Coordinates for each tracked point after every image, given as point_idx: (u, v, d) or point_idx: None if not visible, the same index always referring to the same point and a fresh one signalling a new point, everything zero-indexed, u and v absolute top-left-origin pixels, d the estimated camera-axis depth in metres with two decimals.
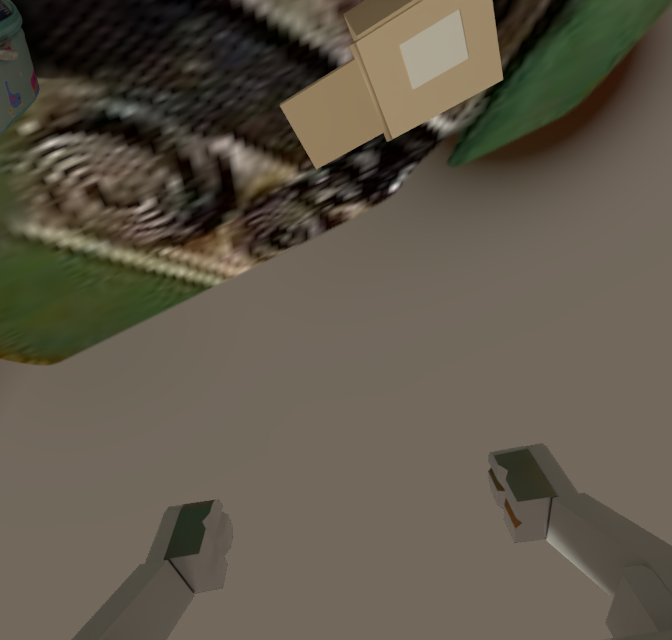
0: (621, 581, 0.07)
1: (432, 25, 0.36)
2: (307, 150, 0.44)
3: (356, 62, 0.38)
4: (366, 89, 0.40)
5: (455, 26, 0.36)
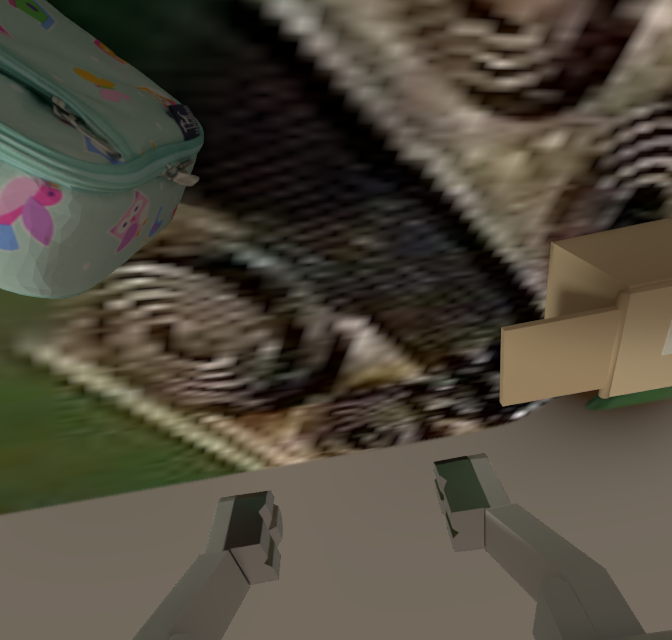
0: (539, 593, 0.07)
1: None
2: (505, 384, 0.32)
3: (619, 312, 0.29)
4: (612, 341, 0.31)
5: None
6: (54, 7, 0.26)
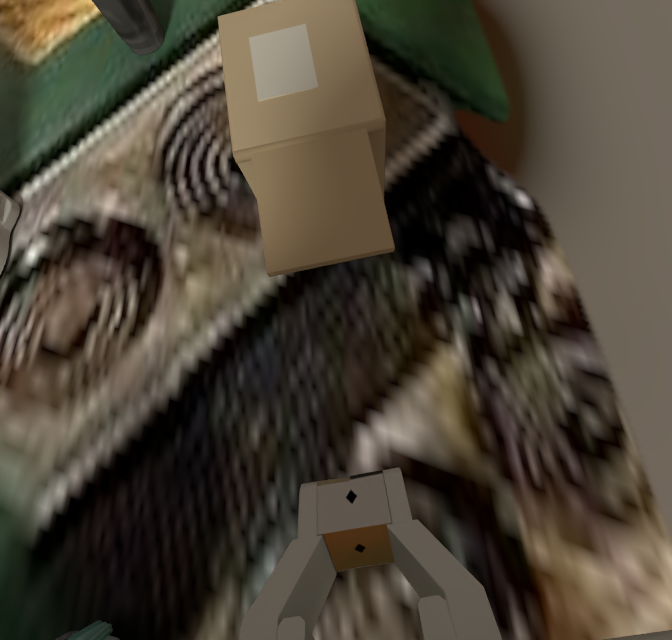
0: (419, 611, 0.08)
1: (253, 64, 0.28)
2: (354, 252, 0.23)
3: (255, 153, 0.26)
4: (294, 145, 0.25)
5: (265, 40, 0.28)
6: None
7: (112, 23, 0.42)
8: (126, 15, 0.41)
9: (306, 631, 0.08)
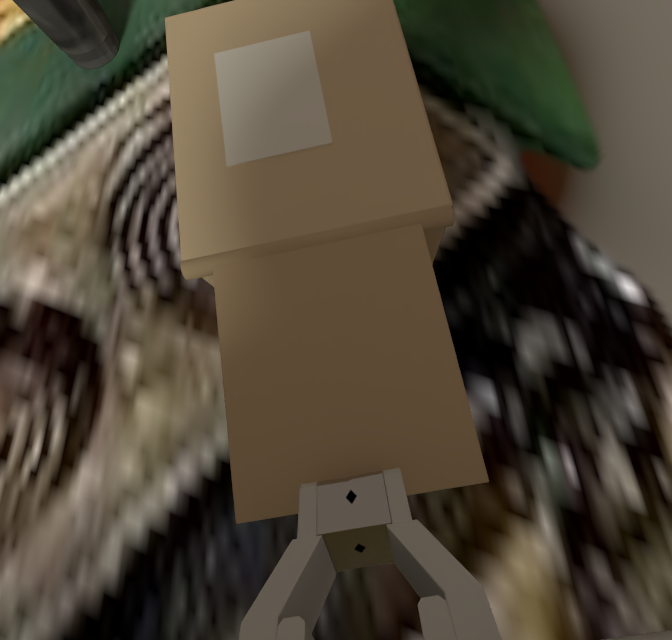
0: (419, 611, 0.08)
1: (220, 100, 0.16)
2: (407, 488, 0.12)
3: (220, 267, 0.14)
4: (289, 254, 0.14)
5: (241, 59, 0.17)
6: None
7: (41, 27, 0.30)
8: (58, 16, 0.29)
9: (306, 631, 0.08)
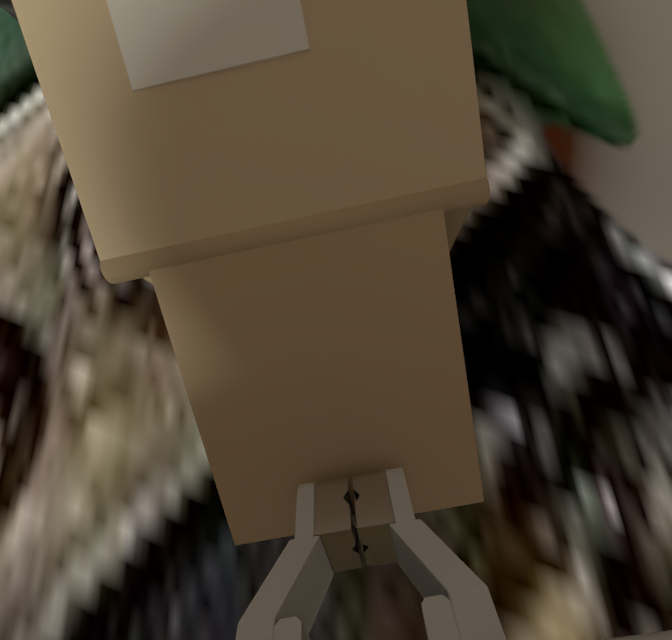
0: None
1: None
2: None
3: (160, 272, 0.10)
4: (258, 253, 0.10)
5: None
6: None
7: None
8: None
9: (302, 631, 0.08)
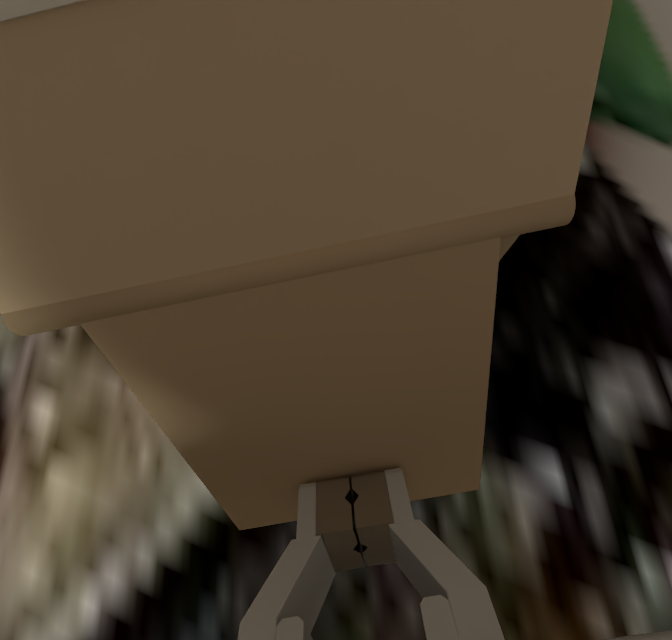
0: (421, 610, 0.08)
1: None
2: None
3: (97, 324, 0.07)
4: (235, 299, 0.07)
5: None
6: None
7: None
8: None
9: (305, 631, 0.08)
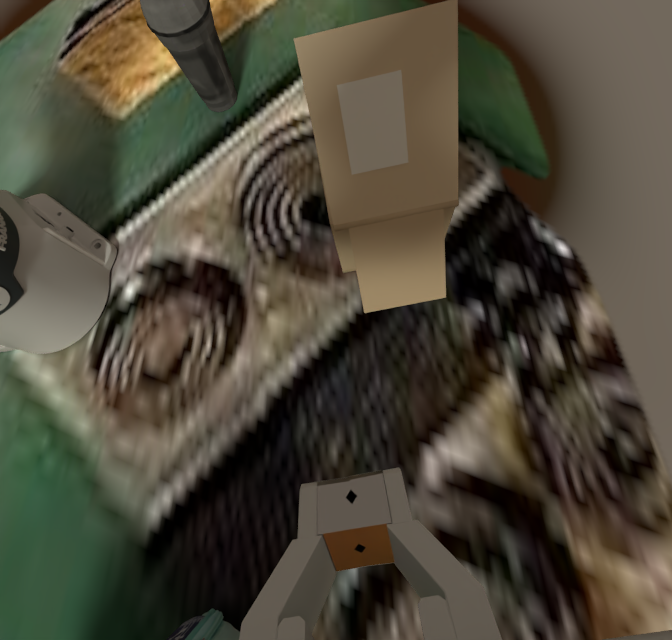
0: (419, 611, 0.08)
1: (344, 126, 0.27)
2: (420, 300, 0.36)
3: (352, 228, 0.32)
4: (384, 222, 0.32)
5: (355, 91, 0.26)
6: None
7: (197, 88, 0.48)
8: (211, 83, 0.47)
9: (306, 631, 0.08)
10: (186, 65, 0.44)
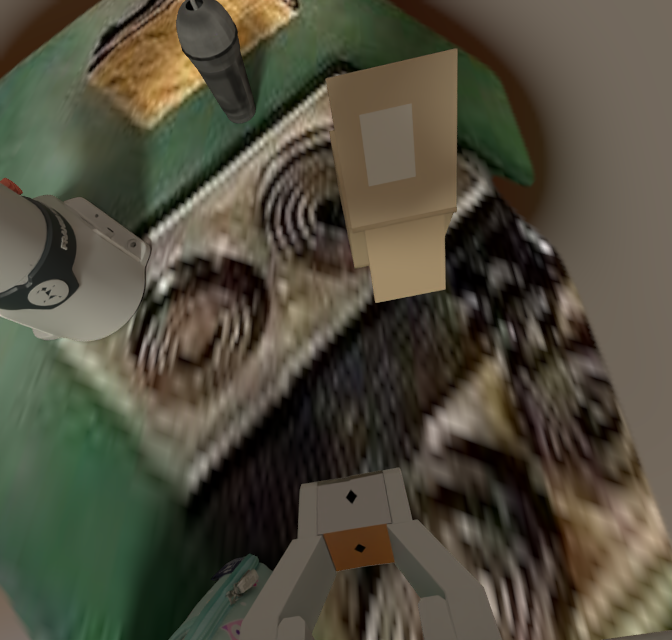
0: (419, 611, 0.08)
1: (363, 147, 0.33)
2: (423, 292, 0.43)
3: (367, 231, 0.38)
4: (394, 226, 0.38)
5: (373, 119, 0.32)
6: None
7: (221, 103, 0.53)
8: (234, 99, 0.52)
9: (306, 631, 0.08)
10: (214, 83, 0.49)
